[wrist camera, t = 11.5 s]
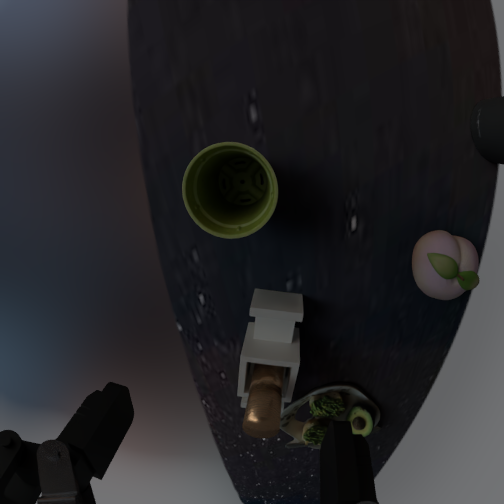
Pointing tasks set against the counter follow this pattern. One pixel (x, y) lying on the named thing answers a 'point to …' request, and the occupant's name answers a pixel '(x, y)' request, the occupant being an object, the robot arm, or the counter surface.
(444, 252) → the decorative fruit
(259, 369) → the brown rounded rod
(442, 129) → the counter surface
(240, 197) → the plant pot
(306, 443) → the salad plate
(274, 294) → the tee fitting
